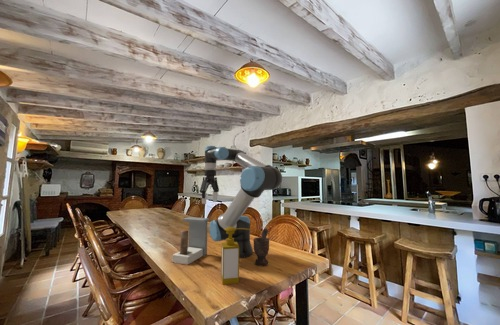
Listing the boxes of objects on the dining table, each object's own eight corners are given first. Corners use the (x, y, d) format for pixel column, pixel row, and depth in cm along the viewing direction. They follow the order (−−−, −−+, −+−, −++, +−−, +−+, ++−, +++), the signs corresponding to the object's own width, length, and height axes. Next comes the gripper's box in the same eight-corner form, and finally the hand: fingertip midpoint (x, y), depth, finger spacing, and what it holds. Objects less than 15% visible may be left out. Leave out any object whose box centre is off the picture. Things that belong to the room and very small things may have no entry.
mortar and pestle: (276, 266, 112) (276, 227, 114) (264, 270, 107) (264, 229, 109) (262, 259, 122) (262, 224, 124) (250, 263, 117) (250, 225, 118)
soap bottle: (251, 281, 95) (251, 227, 97) (222, 284, 92) (223, 228, 94) (247, 274, 102) (248, 224, 104) (221, 277, 99) (222, 225, 101)
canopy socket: (208, 254, 130) (208, 218, 132) (190, 265, 113) (191, 223, 115) (188, 251, 135) (189, 217, 137) (169, 261, 118) (170, 222, 120)
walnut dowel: (188, 259, 121) (189, 230, 123) (184, 262, 117) (185, 232, 119) (182, 259, 122) (183, 230, 124) (178, 261, 119) (179, 231, 120)
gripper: (214, 170, 152) (214, 200, 150) (194, 168, 129) (193, 204, 127) (224, 170, 150) (223, 201, 148) (205, 168, 126) (204, 204, 124)
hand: (209, 202), depth 137 cm, fingers open, 13 cm apart
